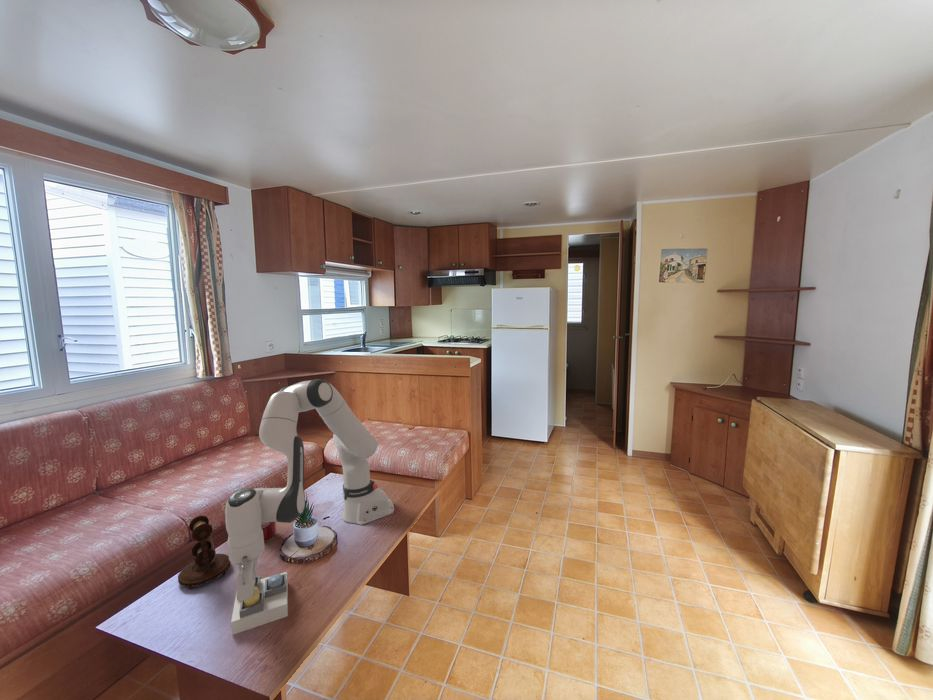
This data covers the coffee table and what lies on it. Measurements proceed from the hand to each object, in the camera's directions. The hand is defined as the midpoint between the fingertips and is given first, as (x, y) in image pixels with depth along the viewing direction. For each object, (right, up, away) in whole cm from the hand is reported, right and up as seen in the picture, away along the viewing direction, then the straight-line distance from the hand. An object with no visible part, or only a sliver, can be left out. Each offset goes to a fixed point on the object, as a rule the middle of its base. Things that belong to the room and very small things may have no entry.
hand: (250, 591), depth 107 cm
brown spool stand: (-27, -7, +20) cm, 35 cm away
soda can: (-17, -5, +40) cm, 44 cm away
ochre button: (0, -3, 0) cm, 3 cm away
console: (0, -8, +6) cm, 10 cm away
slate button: (+3, -4, +8) cm, 9 cm away
